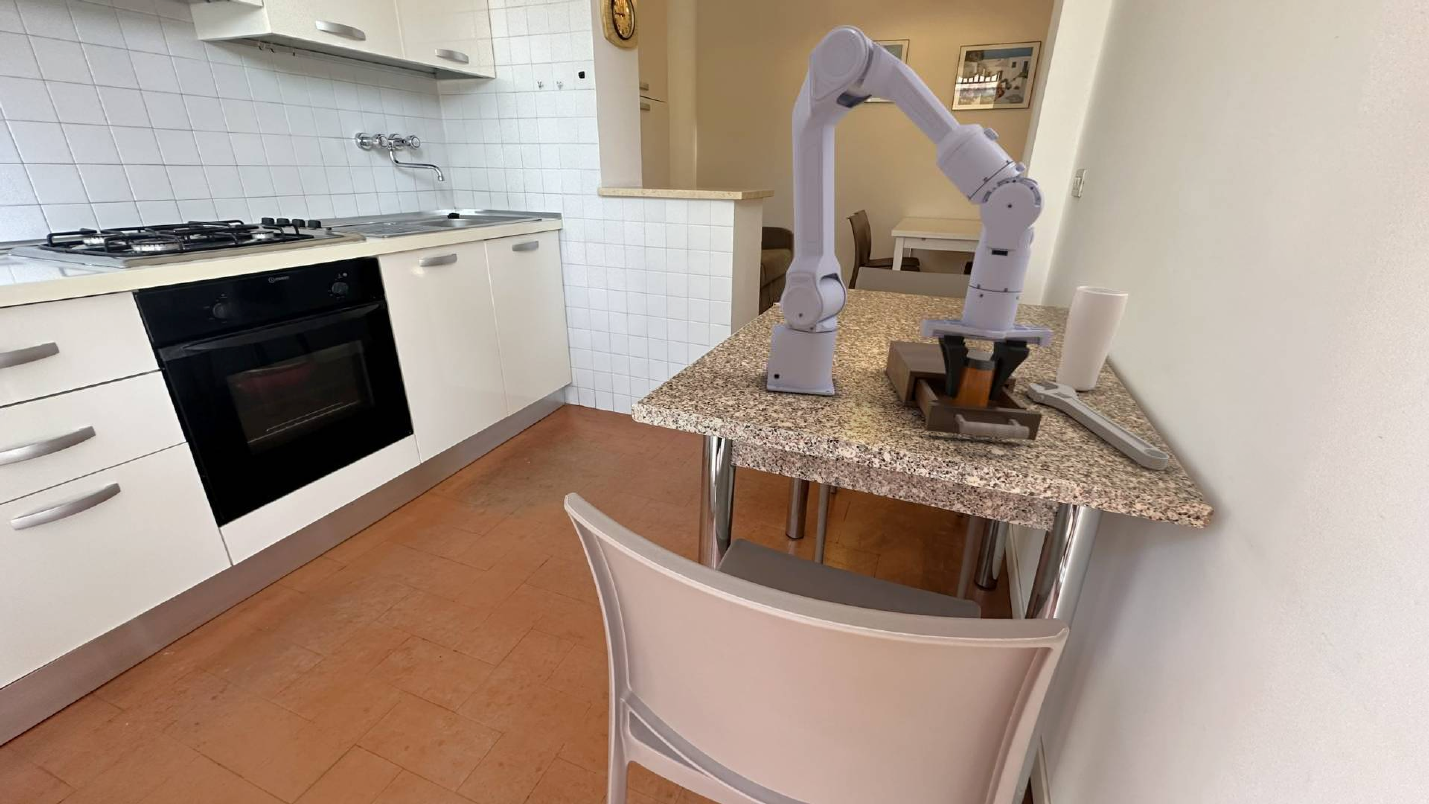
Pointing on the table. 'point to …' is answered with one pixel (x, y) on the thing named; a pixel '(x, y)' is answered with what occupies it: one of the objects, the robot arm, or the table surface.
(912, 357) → the cabinet
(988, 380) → the spice jar
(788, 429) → the table surface
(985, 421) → the drawer
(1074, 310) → the drinking glass
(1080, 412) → the adjustable wrench
